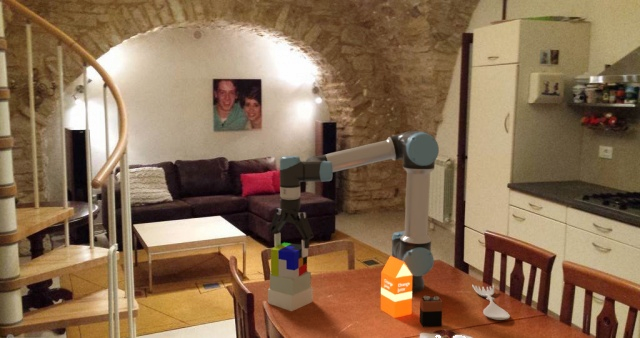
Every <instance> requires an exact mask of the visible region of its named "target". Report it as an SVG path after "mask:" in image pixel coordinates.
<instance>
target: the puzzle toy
mask: <svg viewBox="0 0 640 338" xmlns="http://www.w3.org/2000/svg"><path fill="white" fill-rule="evenodd" d="M307 271H308V256H306V257H302V244H296V243H290V242H289V243H288V242H283V243H281V244H280V245H278V246H276V247H275V246H274V247H273V248H270V274H271V275H273V276H279V277H285V278H291V279H295V278H297V277H299V276H300V275H302V274H303V273H305V272H307Z"/></svg>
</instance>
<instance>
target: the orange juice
mask: <svg viewBox="0 0 640 338" xmlns="http://www.w3.org/2000/svg"><path fill="white" fill-rule="evenodd" d="M380 274H381V276H380V277H381V278H380V279H381V280H380V310H381V311H383V312H385V313H386V314H388V315H389V316H391V317H392V318H394V319H396V318H400V317H405V316H409V315H412V311H413V310H412V308H413V307H412V306H413V305H412V303H413V293H412V276H413V275H412V274H411V272H410V271H409V269H408V267H407V266H406V264H405V263H404V262H403V261H401V260H399V259H397V258H394V257H392V255H390V256H389V258H388V259H387V261H386V263H385V265H384V267H383V269H382V270H381V273H380Z"/></svg>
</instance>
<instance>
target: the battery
mask: <svg viewBox="0 0 640 338" xmlns="http://www.w3.org/2000/svg"><path fill="white" fill-rule="evenodd" d="M419 323H420V325H421V326H422V328H436V327H437V328H438V327H440V328H441V327H442V325H443V324H442V323H443V301H442V299H441V298H440V297H439V296H437V295H435V296H433V297H431V296H428V295H424V296H423V297H420V298H419Z"/></svg>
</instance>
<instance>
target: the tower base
mask: <svg viewBox="0 0 640 338" xmlns="http://www.w3.org/2000/svg"><path fill="white" fill-rule="evenodd" d="M313 292H314V288H313V287H312V286H311V287H310V288H308V289H306V290H304V291H301V292H299V293H297V294H295V295H293V296H292V295H288V294H285V293H281V292H278V291H274V290H271V289H270V287H269V288H267V304H269V305H272V306H274V307H278V308H281V309H283V310H286V311H290V312H293V311H295V310H298V309H300V308H301V307H304V306H306V305H309V304H310V303H313V301H314V297H313V295H314V294H313Z"/></svg>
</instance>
